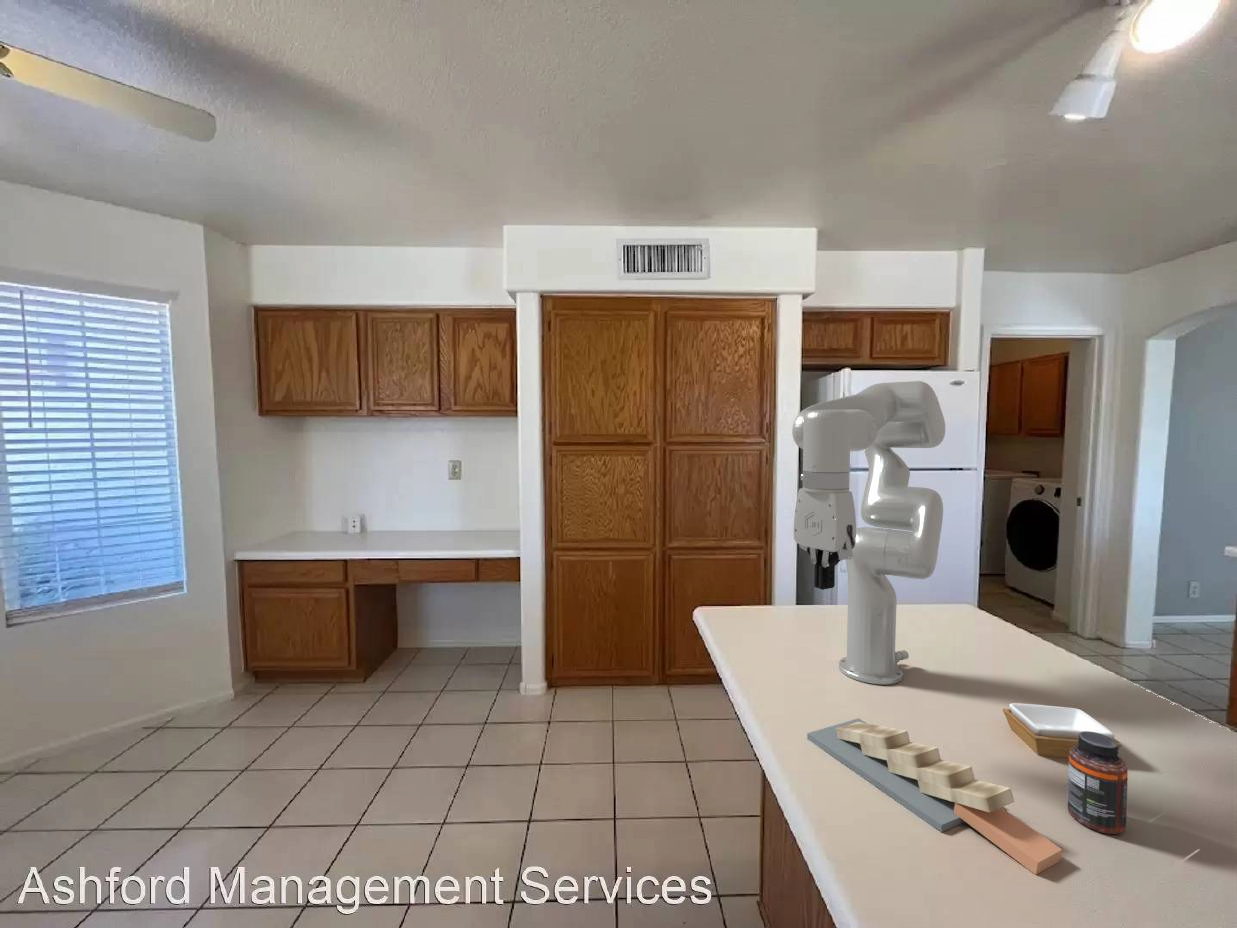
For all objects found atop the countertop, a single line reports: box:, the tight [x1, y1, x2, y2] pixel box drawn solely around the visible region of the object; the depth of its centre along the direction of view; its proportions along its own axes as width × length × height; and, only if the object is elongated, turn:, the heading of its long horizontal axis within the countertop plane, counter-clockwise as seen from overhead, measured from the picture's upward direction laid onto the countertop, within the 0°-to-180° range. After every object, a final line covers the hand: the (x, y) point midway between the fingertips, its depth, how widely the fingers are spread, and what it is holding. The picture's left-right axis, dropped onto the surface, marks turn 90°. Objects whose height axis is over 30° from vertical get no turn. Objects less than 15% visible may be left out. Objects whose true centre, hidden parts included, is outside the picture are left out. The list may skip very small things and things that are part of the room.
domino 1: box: [836, 722, 911, 749], centre depth 88 cm, size 5×2×10 cm
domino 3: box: [887, 759, 976, 789], centre depth 78 cm, size 5×2×10 cm
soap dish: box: [1002, 702, 1123, 759], centre depth 91 cm, size 12×10×5 cm
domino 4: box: [918, 778, 1015, 813], centre depth 74 cm, size 5×2×10 cm
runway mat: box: [806, 718, 966, 833], centre depth 84 cm, size 12×24×1 cm, turn 24°
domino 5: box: [954, 803, 1063, 876], centre depth 69 cm, size 5×2×10 cm
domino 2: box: [860, 741, 942, 768], centre depth 83 cm, size 5×2×10 cm
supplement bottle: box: [1067, 731, 1129, 835], centre depth 73 cm, size 6×6×11 cm
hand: (824, 587), depth 94 cm, fingers closed
